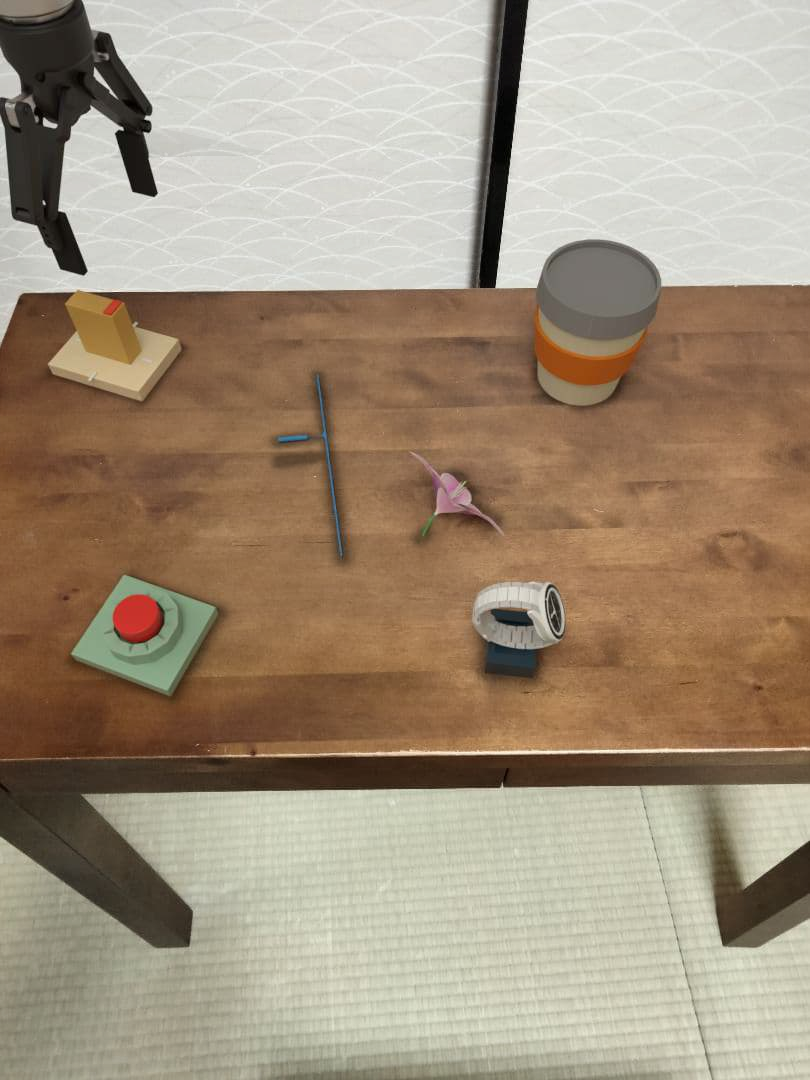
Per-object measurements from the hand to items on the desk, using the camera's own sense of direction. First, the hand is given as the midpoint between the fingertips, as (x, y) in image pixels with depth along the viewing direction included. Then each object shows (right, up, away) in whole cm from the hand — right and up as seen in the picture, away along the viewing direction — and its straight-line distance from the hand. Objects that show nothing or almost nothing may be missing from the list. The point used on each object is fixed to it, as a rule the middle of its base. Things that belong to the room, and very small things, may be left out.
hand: (111, 230), depth 84 cm
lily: (+35, -30, +1) cm, 46 cm away
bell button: (+6, -39, -10) cm, 41 cm away
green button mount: (+6, -41, -7) cm, 42 cm away
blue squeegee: (+20, -24, +5) cm, 31 cm away
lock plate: (-4, -11, +13) cm, 17 cm away
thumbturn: (-4, -10, +11) cm, 15 cm away
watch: (+40, -42, -7) cm, 59 cm away
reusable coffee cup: (+50, -13, +12) cm, 53 cm away
